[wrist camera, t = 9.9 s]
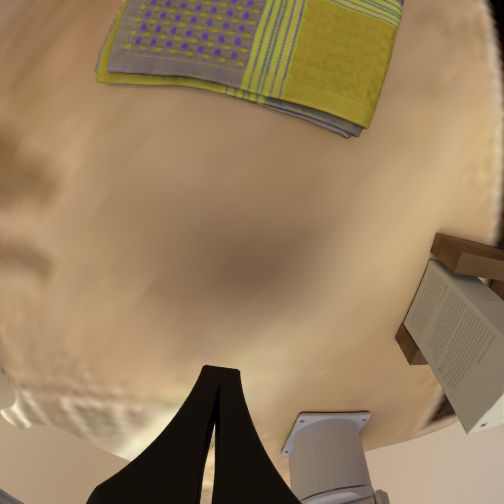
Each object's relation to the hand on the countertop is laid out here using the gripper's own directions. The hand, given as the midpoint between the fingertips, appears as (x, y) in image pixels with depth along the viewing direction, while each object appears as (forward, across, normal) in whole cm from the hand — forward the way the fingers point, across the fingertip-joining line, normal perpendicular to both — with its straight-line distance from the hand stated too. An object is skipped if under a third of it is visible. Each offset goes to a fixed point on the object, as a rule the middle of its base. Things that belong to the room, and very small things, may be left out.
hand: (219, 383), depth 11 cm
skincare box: (+10, -16, 0) cm, 19 cm away
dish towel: (+11, 0, -22) cm, 25 cm away
